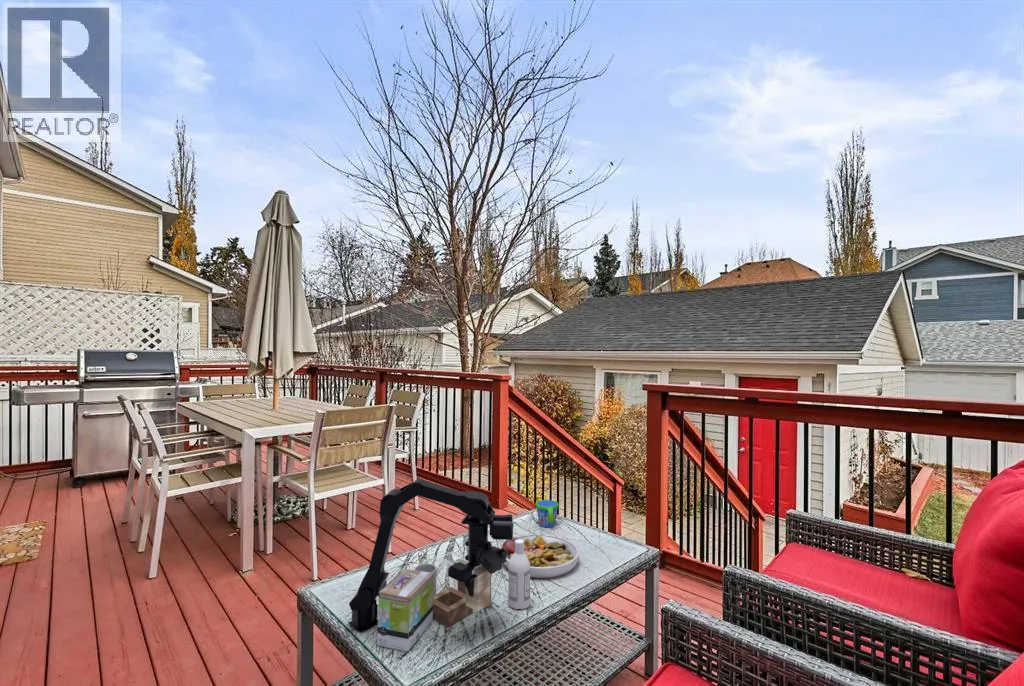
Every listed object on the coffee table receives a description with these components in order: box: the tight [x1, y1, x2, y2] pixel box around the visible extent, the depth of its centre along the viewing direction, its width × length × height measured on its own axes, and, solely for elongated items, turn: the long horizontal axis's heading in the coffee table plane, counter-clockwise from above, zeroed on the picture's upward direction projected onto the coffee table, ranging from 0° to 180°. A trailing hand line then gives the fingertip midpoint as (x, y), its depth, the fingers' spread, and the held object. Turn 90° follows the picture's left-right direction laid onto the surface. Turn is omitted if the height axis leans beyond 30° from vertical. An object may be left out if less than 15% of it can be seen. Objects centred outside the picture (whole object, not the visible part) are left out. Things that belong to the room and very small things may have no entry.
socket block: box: [433, 558, 493, 628], centre depth 143 cm, size 16×15×11 cm
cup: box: [413, 563, 438, 596], centre depth 152 cm, size 7×10×9 cm
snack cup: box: [535, 499, 559, 528], centre depth 214 cm, size 16×10×10 cm
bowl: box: [499, 534, 579, 579], centre depth 176 cm, size 30×30×8 cm
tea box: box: [376, 568, 434, 652], centre depth 131 cm, size 15×10×15 cm
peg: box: [466, 566, 490, 613], centre depth 133 cm, size 5×5×10 cm
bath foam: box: [507, 539, 531, 610], centre depth 146 cm, size 7×7×20 cm
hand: (477, 592), depth 133 cm, fingers closed on peg, 5 cm apart
